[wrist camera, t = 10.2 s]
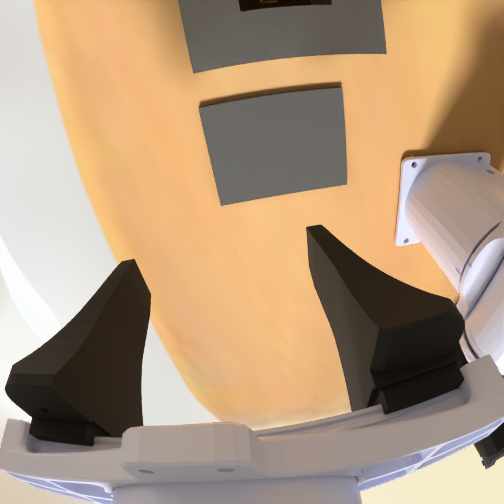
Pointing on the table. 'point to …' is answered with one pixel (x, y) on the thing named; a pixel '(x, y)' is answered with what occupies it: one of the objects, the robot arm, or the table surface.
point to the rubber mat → (276, 143)
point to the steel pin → (269, 1)
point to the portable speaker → (495, 443)
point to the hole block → (279, 31)
